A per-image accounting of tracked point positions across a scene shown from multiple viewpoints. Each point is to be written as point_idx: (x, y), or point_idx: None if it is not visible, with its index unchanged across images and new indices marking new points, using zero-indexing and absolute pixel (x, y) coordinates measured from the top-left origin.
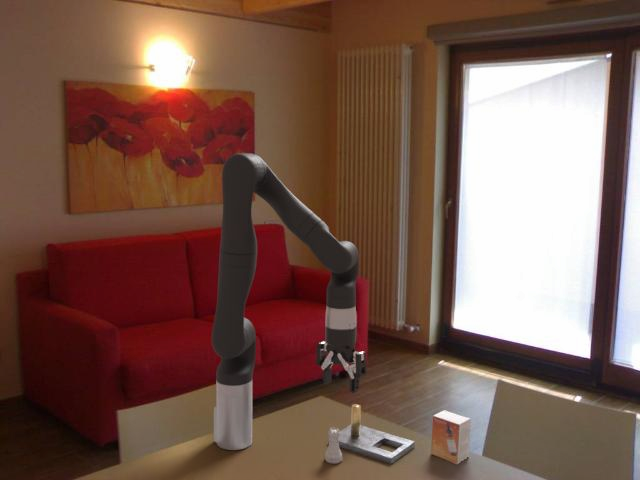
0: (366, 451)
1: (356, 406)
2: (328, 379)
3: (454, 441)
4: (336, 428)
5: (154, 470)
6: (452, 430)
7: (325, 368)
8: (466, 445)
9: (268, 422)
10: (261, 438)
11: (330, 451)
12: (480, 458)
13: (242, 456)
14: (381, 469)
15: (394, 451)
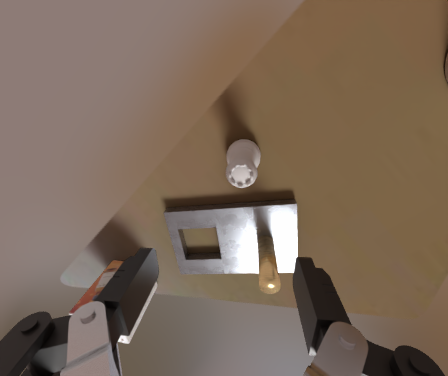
0: (211, 208)
1: (267, 284)
2: (299, 286)
3: (97, 285)
4: (241, 185)
5: None
6: (90, 301)
7: (325, 336)
8: None
9: None
10: (438, 121)
11: (241, 149)
12: None
13: (429, 9)
14: (164, 184)
15: (177, 233)
